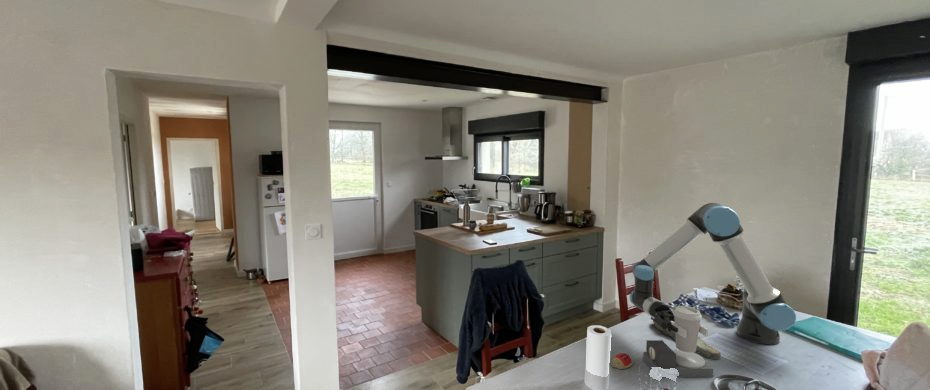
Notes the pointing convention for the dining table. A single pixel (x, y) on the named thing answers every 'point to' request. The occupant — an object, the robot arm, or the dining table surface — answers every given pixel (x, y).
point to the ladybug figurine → (621, 361)
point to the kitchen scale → (675, 360)
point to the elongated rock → (701, 344)
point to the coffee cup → (687, 327)
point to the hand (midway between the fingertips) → (696, 333)
